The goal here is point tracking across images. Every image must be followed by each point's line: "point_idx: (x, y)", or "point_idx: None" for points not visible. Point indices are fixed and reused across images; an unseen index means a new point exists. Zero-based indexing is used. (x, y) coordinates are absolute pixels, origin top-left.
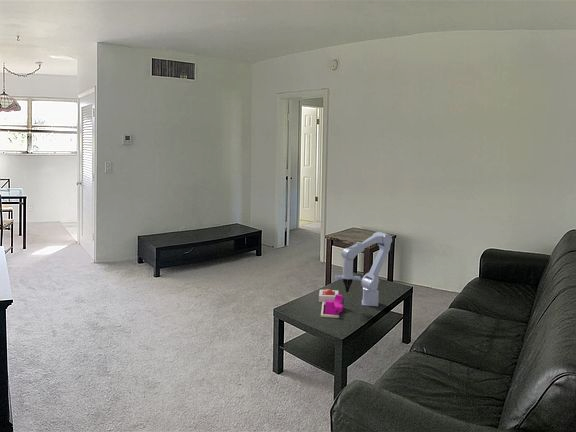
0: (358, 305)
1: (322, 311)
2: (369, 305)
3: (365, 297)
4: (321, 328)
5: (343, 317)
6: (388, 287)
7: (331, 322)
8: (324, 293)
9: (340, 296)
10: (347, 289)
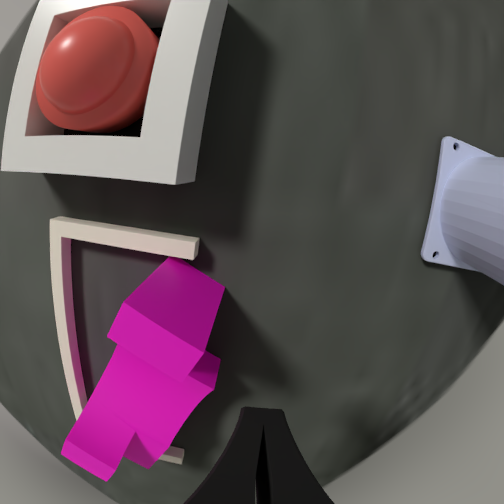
0: (390, 249)
1: (76, 398)
2: (468, 268)
3: (486, 269)
4: (116, 498)
5: (212, 453)
6: None
7: (147, 479)
8: (42, 99)
9: (172, 374)
10: (256, 481)
